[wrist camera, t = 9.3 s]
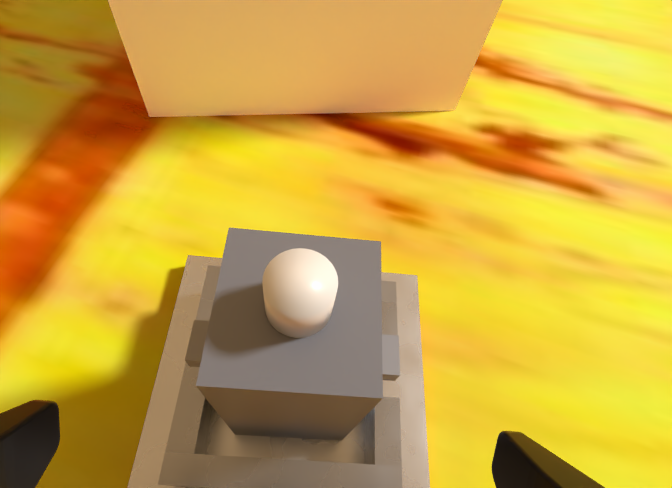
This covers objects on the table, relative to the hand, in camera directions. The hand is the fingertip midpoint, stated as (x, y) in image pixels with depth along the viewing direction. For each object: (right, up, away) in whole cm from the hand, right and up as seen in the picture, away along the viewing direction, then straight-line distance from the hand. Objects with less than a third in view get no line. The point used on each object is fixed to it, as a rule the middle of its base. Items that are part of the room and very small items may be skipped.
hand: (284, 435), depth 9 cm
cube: (-3, +23, +28) cm, 36 cm away
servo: (-1, -2, +10) cm, 11 cm away
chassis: (-1, -3, +11) cm, 12 cm away
